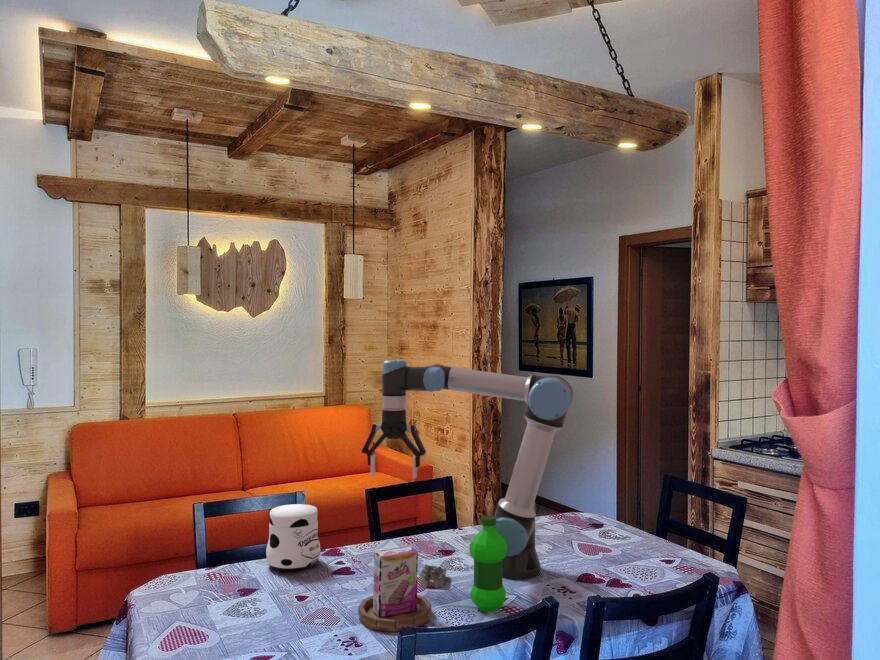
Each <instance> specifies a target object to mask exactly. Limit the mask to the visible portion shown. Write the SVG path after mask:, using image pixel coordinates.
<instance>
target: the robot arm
mask: <svg viewBox="0 0 880 660" xmlns="http://www.w3.org/2000/svg"><path fill="white" fill-rule="evenodd" d="M381 371H382V373H381V383H382V384H381V385H382V392H381V393H382V394H381V395H382V396H381V399H382V400H381V408H382V410H381V424H378V423H376V422H375V423H373V424H372V426H371V431H370V433H369V435H368V437H367V439H366V441H365V443H364V445H363V447H362V450H361V453H362V454H366V455H367V465H368V466H370V477H375V475H376V454H374V452H375V451H376V450H377V449H378V447H380V445H381V444H382V443H383V441H384V440H386V439H388V440H391V439H392V440H393V439H394V440H399V439H400V440H402V441H403V443H404V444H405V445H406V446H407V448H408V449H409V450H410V451H411V453H412V454H413V455H414V456H413V457H412V479H416V478H417V477H418V468H420V466H421V457H422V456H425V454H426V453H427V450H426V448H425V446H424V444H423V442H422V440H421V438H420V436H419V433H418V432H417V426H416V424H409V425H407V411H406V408H407V391H409V392H411V391H413V392H414V391H416V392H419V391H420V392H430V393H433V392H441V391H442V390H448V391H454V392H461V393H462V392H463V393H467V394H468V393H469V394H476V395H483V396H488V397H489V396H490V397H496V398H502V399H510V400H515V401H516V400H517V401H522V402H525V403H526V405H527V406H526V409H525V413H524V418H525V420H526V423H527V424H526V427H525V429H524V430H525V431H524V434H523V436H522V437H523V438H522V441H521V443H520V447H519V451H518V454H517V456H516V457H517V458H516V461H515V463H514V467H513V470H512V473H511V476H510V481H509V483H508V487H507V490H506V494H505V497H503V498H500V499H499V501H498V502H497V506H496V509H495V512H494V515H493V516H494V517H496V525H494V530H495V531H496V532H497V533H499V534H500V535H501V536H502V537H503V538H504V539H505V540H506V543H507V552H506V555H505V558H504V559H503V560H502V578H504V579H511V580H530V579H533V578H537V577H538V576H540V575H541V568H542V566H541V563H540V559H539V556H538V552H537V549H536V516H537V514H536V512H537V510H536V502H535V501H536V498H537V495H538V492H539V487H540V485H541V482H542V478H543V475H544V471H545V468H546V464H547V461H548V458H549V455H550V452H551V449H552V444H553V443H554V438H555V435H556V432H558V431H559V430H562V429H563V427H564V425H565V421H566V418H567V414H568V411H569V407H570V406H571V404H572V402H573V397H574V392H573V388H572V386H571V384H570V383H569V382H568V380H566V378H563V377H561V376H559V375H535V374H531V375H530V376H528V377H527V376H520V375H512V374H505V373H498V372H491V371H484V370H476V369H469V368H462V367H455V366H454V367H453V366H447V365H443V364H440V363H439V364H437V363H436V364H432V365H428V366H427V365H426V366H409V365H407V361H406V360H404V359H386V360H384V361H383V363H382V370H381ZM379 430H381V431H382V434H381V435H380V437H378V439H377V440H376V442H375V443H374V444H373V445H371V444H372V442H373V440H374V439H375V436H376V434H377V432H378V431H379ZM407 431H408V432H409V433H411V436H412V438H413V440H414V443H415V444H414V443H413V442H412V441H411V440H410V438H409V436H408V435H407V434H406V432H407ZM415 445H416V446H417V447H416V446H415ZM369 448H370V449H369Z"/></svg>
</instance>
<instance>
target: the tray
mask: <svg viewBox="0 0 880 660" xmlns="http://www.w3.org/2000/svg"><path fill="white" fill-rule="evenodd" d="M431 613H432V603H431V602H430V601H429V599H428V598H426V597H424V596H421V595H419V594H417V611H416V612H411V613H406V614H401V615H396V616H391V617H385V618H378V617H377V616H376V615H375V614H374V613H373V595H371V596H368V597H367V598H364V599H362V600H361V602H360V604H359V605H358V607H357V614H358V616H359V617H358V618H359V622H360V623H361V625H363V626H364V627H366V628H368V629H371V630H374V631H377V632H383V633H384V632H385V633H399V632H398V630H399V629H400V628H401V627H410V626H421V627H423V626H424V625H426V624H428V623H429V621H430V620H431Z"/></svg>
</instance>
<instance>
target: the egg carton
mask: <svg viewBox="0 0 880 660" xmlns="http://www.w3.org/2000/svg"><path fill="white" fill-rule="evenodd" d="M447 572H448V571H447V568H446V567H444V568H442V567H441V566H437V565H429V564H424V567H423V568H422V570H421V572H420V573H419V575H418V576H419V579H420V586H421V585H422V586H421V587H424V588H428V586H429V587H434V588H435V589H439V588H443V587H444V583H445V579H447ZM428 575H429V576H430V578H428V577H429V576H428ZM426 579H427V580H426ZM442 586H443V587H442Z"/></svg>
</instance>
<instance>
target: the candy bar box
mask: <svg viewBox="0 0 880 660" xmlns="http://www.w3.org/2000/svg"><path fill="white" fill-rule="evenodd" d="M418 554H419V552H418V551H417V550H416V549H415V548H413V547H412V546H408V547H406V546H405V547H400V548H394V549H386V550H380V551H379V550H378V551H374V552H373V585H372V586H373V588H372V589H373V591H372V593H373V595H372V596H373V613H374V614H375V615H376V616H377V617H378V618H385V617H391V616H396V615H401V614H406V613H411V612H416V611H417V595H418V567H419V565H418V564H419V562H418V561H419V557H418V556H419V555H418Z"/></svg>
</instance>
